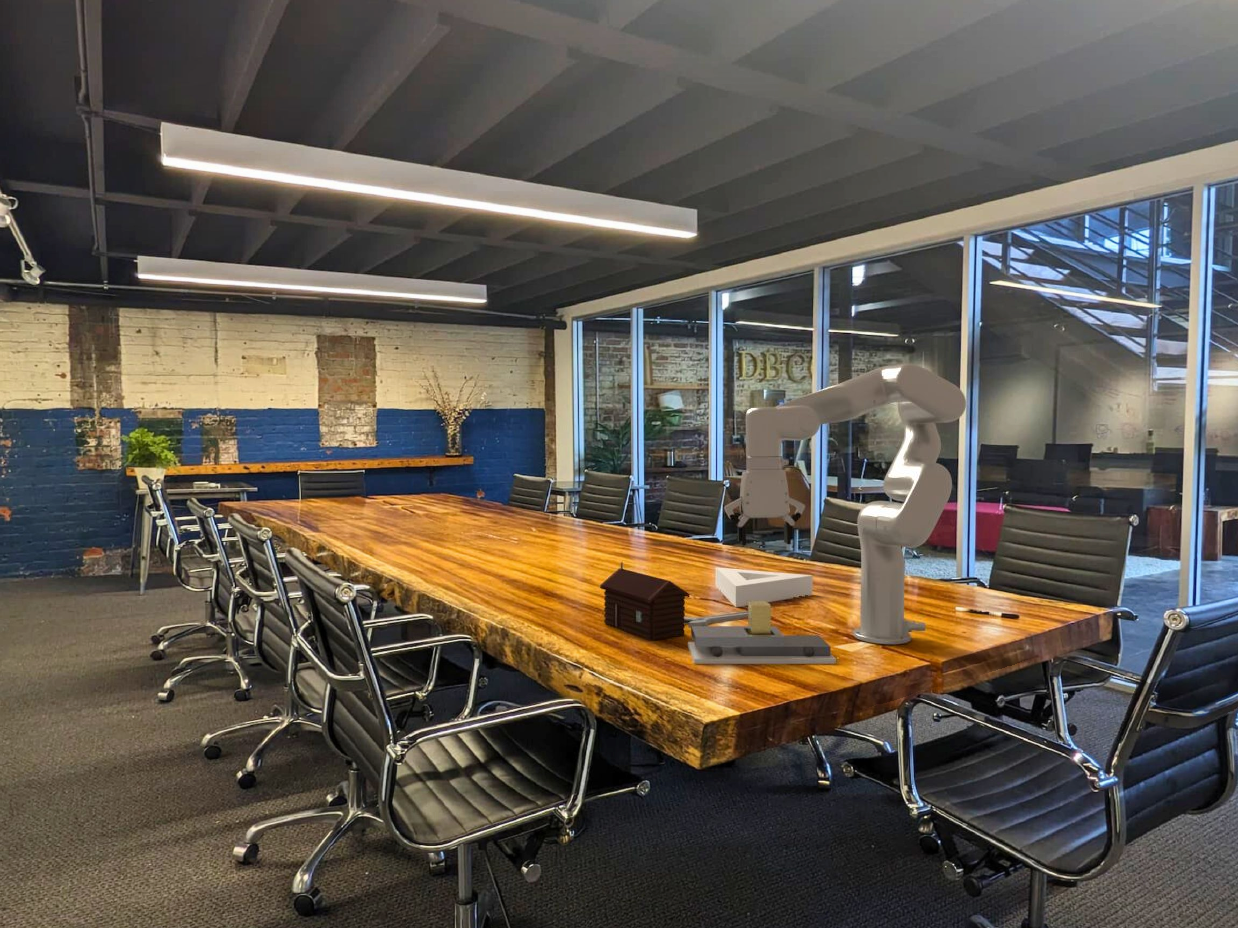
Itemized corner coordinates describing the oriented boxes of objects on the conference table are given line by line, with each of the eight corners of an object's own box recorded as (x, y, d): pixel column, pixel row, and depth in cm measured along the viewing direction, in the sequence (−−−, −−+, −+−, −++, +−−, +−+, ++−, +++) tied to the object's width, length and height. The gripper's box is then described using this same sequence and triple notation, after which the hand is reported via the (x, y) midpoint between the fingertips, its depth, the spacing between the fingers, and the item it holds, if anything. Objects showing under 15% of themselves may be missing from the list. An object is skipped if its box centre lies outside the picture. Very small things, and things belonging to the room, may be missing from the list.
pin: (766, 647, 165) (766, 601, 165) (770, 652, 161) (770, 605, 161) (748, 647, 165) (748, 601, 164) (751, 652, 161) (751, 605, 160)
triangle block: (735, 609, 208) (735, 586, 208) (677, 592, 230) (677, 571, 230) (812, 596, 225) (812, 575, 224) (751, 582, 246) (751, 562, 246)
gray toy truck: (818, 643, 168) (818, 625, 168) (831, 656, 158) (831, 637, 158) (690, 643, 168) (690, 625, 168) (695, 656, 158) (695, 637, 158)
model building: (600, 623, 190) (600, 563, 189) (638, 617, 196) (638, 559, 196) (649, 642, 173) (649, 576, 172) (689, 635, 179) (689, 571, 179)
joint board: (818, 646, 170) (818, 641, 170) (835, 663, 157) (835, 658, 157) (687, 646, 169) (687, 641, 169) (694, 663, 156) (694, 658, 156)
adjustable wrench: (756, 615, 201) (756, 608, 201) (771, 620, 195) (771, 613, 195) (673, 624, 190) (673, 617, 190) (686, 630, 185) (687, 623, 185)
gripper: (799, 463, 168) (800, 540, 169) (721, 465, 168) (722, 542, 168) (808, 464, 161) (809, 545, 161) (727, 466, 160) (728, 547, 161)
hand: (765, 544), depth 165 cm, fingers open, 9 cm apart
